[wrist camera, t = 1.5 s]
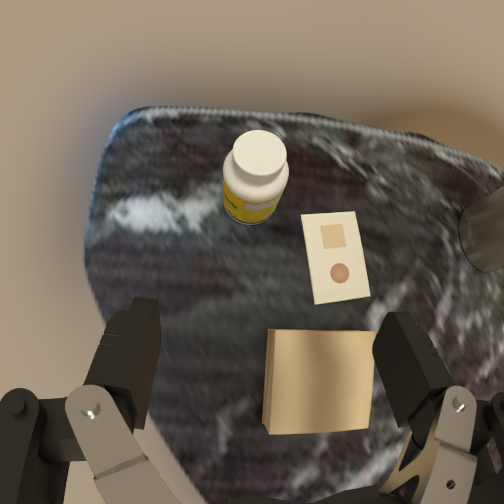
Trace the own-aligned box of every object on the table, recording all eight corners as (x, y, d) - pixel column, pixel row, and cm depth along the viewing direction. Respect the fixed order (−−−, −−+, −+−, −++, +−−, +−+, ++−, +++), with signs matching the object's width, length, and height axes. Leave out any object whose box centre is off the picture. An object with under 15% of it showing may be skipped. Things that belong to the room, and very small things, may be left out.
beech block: (358, 330, 30) (376, 330, 26) (352, 418, 28) (369, 428, 24) (267, 328, 29) (274, 328, 25) (261, 422, 27) (267, 435, 23)
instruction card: (353, 212, 33) (355, 211, 32) (369, 296, 31) (370, 295, 30) (300, 215, 32) (301, 214, 32) (314, 304, 30) (315, 304, 30)
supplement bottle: (219, 180, 32) (219, 124, 23) (270, 175, 33) (288, 120, 23) (226, 230, 31) (228, 187, 22) (280, 223, 32) (304, 180, 22)
